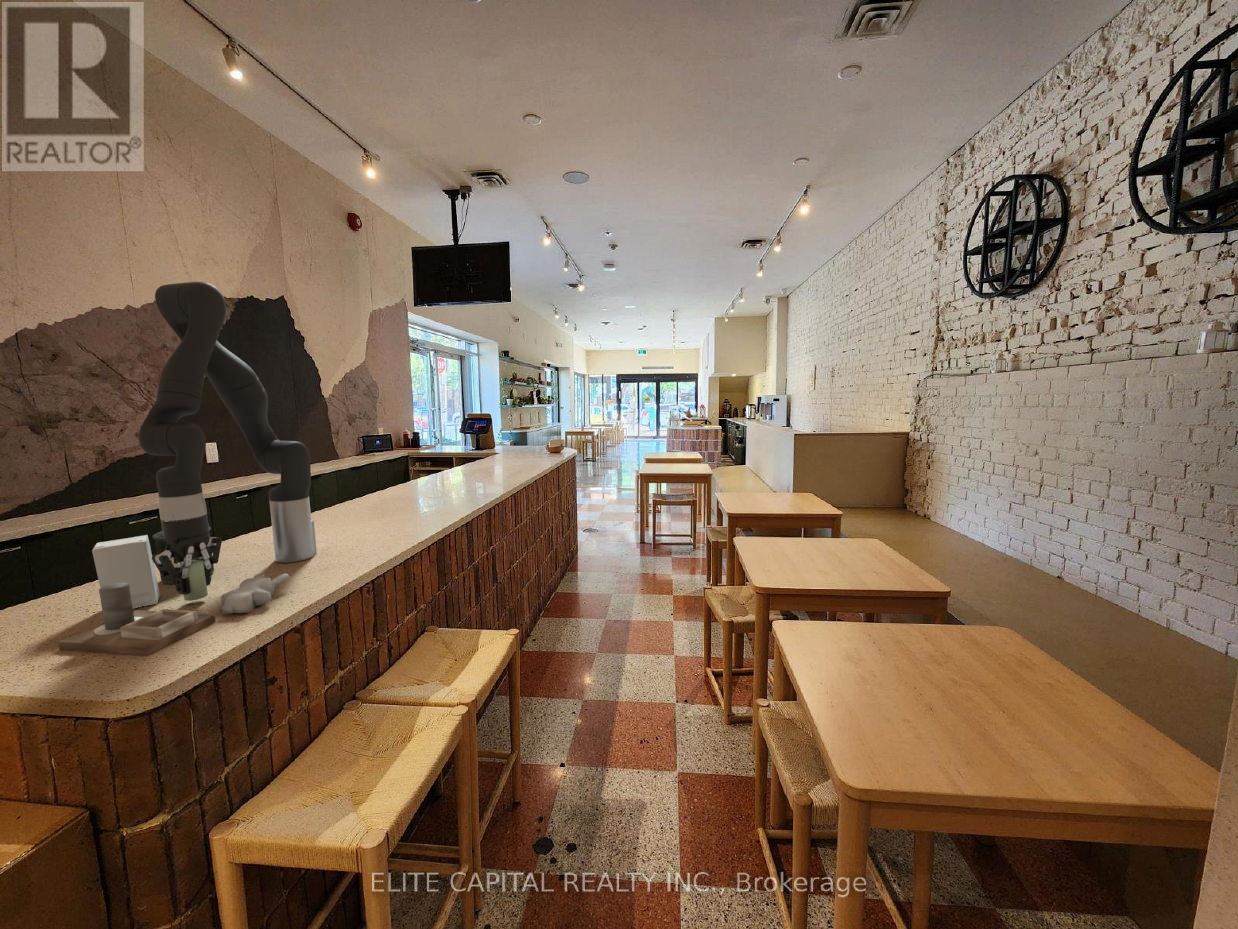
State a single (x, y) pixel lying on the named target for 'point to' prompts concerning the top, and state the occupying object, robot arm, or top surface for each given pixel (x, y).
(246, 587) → the bunny figurine
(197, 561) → the green pin
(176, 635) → the board
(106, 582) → the skincare box
